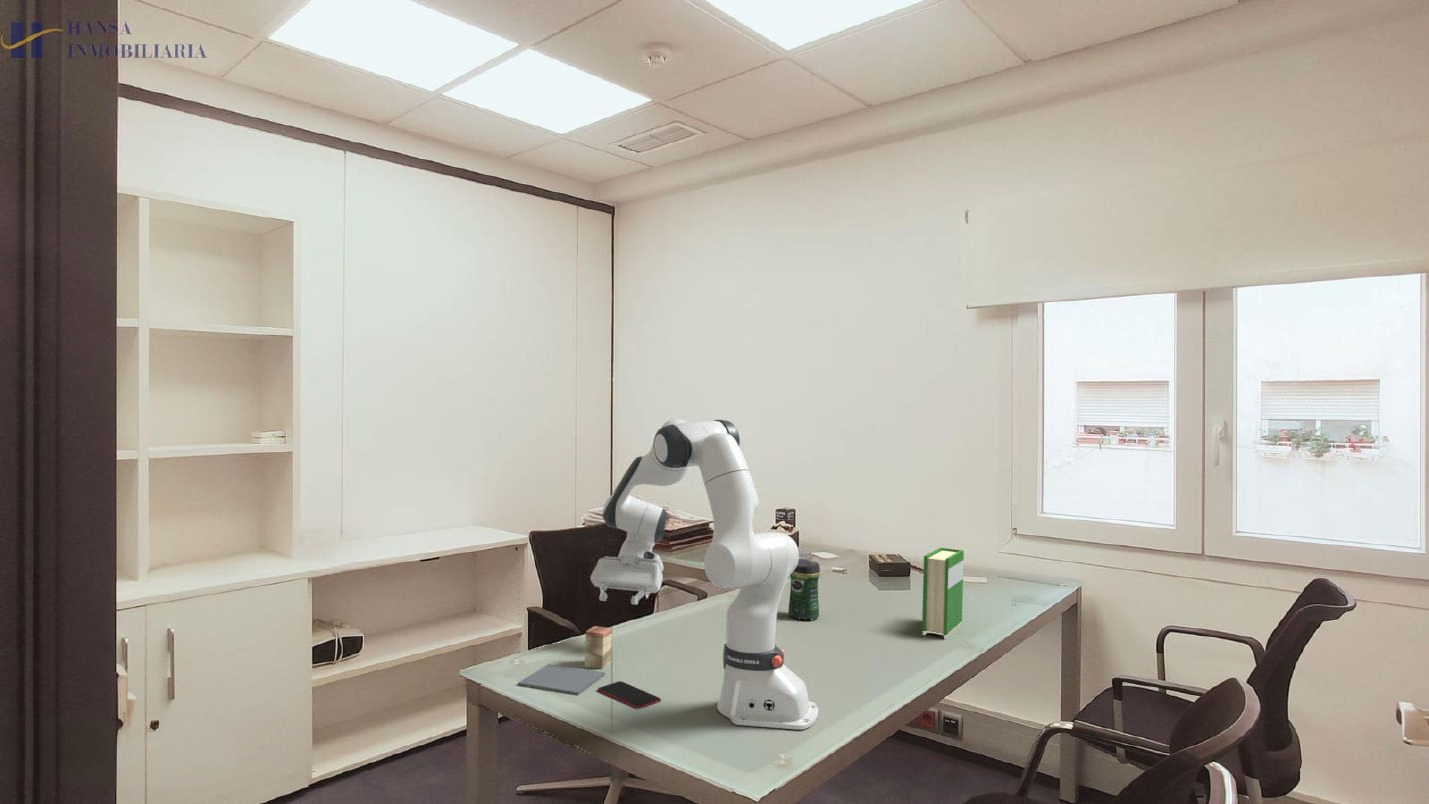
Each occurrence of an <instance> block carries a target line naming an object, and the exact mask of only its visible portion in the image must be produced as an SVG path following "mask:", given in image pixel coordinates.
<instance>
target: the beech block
mask: <svg viewBox="0 0 1429 804" xmlns="http://www.w3.org/2000/svg"><path fill="white" fill-rule="evenodd" d="M612 638H613V628H612V627H604V626H599V625H597V626H596V625H594V626H592V627H590V628H589V629H588V630H585V642H584V645H585V646H584V667H586V668H593V669H598V670H599V669H601V670H603V669H604V668H606V667H608V666H609V665H610V664H611V663H612V644H613V643H612V640H613V639H612Z"/></svg>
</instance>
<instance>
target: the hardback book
mask: <svg viewBox="0 0 1429 804" xmlns="http://www.w3.org/2000/svg"><path fill="white" fill-rule="evenodd" d="M964 554H965V551H964V550H963V549H955V548H948V547H946V548H945V547H938V548H936V549H934V550H933V551H931V552H929V553H927V554H925V555H924V556H923V581H922V582H923V583H922V586H923V587H922V615H921V617H922V619H921V623H922V624H921V632H922V631H931V632H936V633H942V634H944V635H947V634H948V633H949V632H950V631H951V630H952V629H953V628H954V627H956V626H957V625H958V624H959V623H960V622H961V621H962V622H963V595H964V593H963V592H964V591H963V590H964V557H965V556H964Z"/></svg>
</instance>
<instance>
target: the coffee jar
mask: <svg viewBox="0 0 1429 804" xmlns="http://www.w3.org/2000/svg"><path fill="white" fill-rule="evenodd" d="M820 573H821V569H820V564H819V563H818V562H817V561H813V560H809V559H803V558H799V561H798V564H797V567H796V568H795V569H794V571H793V572H792V573H791V574H790V576H789V577H790V592H789V601H788V613H787V614H788V615H790V617H791V616H793V617H792V618H794V617H796V618H795V619H797V618H800V619H799V620H801V619H814V618H817V617H818V618H819V617H820V605H819V604H820V603H819V578H820V575H821V574H820ZM818 618H817V619H818Z"/></svg>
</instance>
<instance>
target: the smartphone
mask: <svg viewBox="0 0 1429 804" xmlns="http://www.w3.org/2000/svg"><path fill="white" fill-rule="evenodd" d="M597 691H598V692H599V693H601V694H602V695H605V694H606V695H605V696H607V695H608V696H607V697H609V696H610V698H611V697H612V698H611V699H613V698H614V700H616V701H618V702H620V703H622V702H623V704H625V705H627V706H629V705H630V706H629V707H631V706H632V707H631V708H633V707H634V708H633V709H636V708H638V709H637V710H640V709H639V708H642V709H643V707H644V708H647V707H649V705H650V706H652V705H654V704H657V702H658V703H660V702H661V701H662V699H661V698H660V697H659V696H656V695H653V694H652V693H649V692H647V691H646V690H643V689H640V688H638V687H636V686H633V685H631V684H629V683H627V682H624V681H616V682H613V683H610V684H607V685H603V686H601V687H598V688H597ZM646 706H647V707H646Z"/></svg>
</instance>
